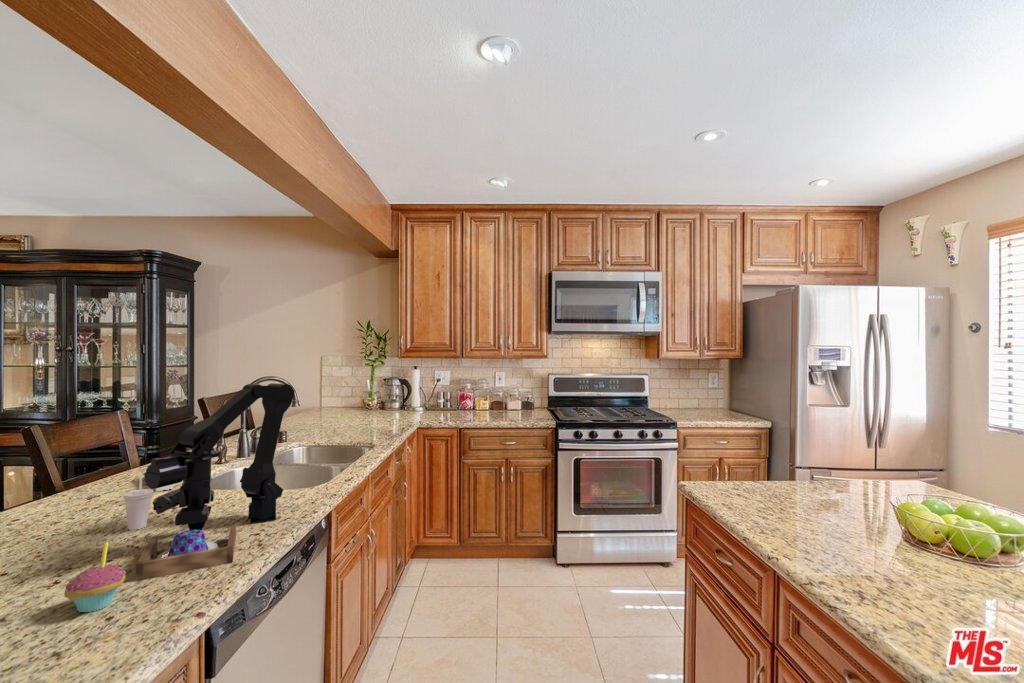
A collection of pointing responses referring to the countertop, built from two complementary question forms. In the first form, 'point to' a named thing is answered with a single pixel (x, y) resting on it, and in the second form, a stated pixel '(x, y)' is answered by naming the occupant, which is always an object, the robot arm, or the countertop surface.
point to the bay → (183, 559)
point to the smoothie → (138, 506)
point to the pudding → (188, 543)
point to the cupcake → (95, 585)
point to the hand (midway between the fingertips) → (195, 540)
